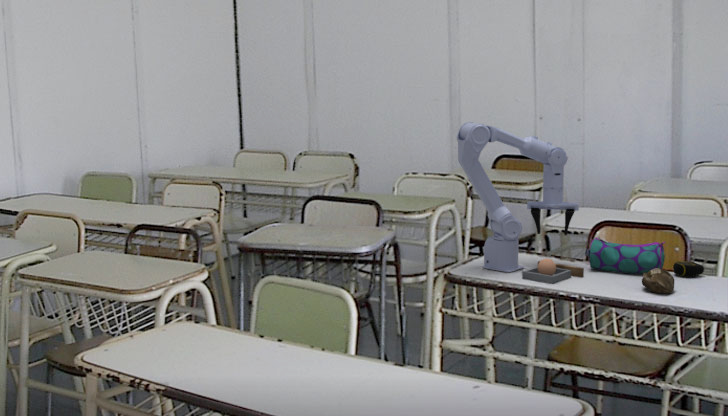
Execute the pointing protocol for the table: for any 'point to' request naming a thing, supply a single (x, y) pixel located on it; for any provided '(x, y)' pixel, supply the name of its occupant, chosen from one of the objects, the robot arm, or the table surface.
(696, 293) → the table surface
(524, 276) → the tray
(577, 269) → the walnut rail
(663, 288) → the brown rock
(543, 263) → the ball
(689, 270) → the tape measure
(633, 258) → the pencil case
